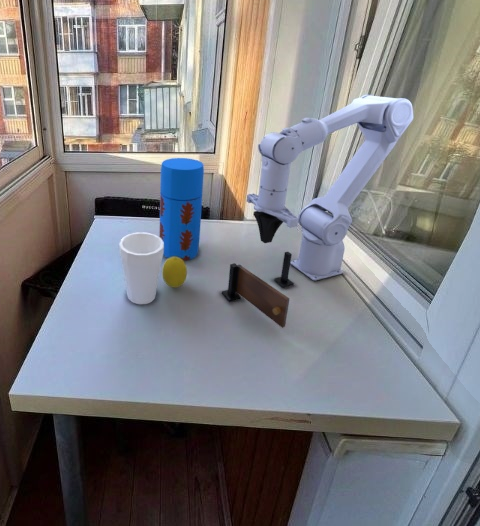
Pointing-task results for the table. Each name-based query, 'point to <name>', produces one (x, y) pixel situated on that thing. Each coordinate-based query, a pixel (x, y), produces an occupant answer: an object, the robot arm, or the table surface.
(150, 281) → the foam cup
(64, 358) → the table surface
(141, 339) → the table surface
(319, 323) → the table surface
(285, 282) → the door frame
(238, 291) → the door
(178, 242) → the thermos
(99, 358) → the table surface
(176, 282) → the lemon
